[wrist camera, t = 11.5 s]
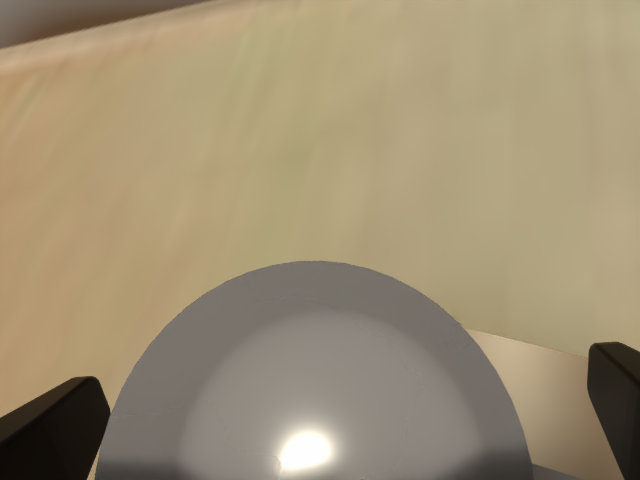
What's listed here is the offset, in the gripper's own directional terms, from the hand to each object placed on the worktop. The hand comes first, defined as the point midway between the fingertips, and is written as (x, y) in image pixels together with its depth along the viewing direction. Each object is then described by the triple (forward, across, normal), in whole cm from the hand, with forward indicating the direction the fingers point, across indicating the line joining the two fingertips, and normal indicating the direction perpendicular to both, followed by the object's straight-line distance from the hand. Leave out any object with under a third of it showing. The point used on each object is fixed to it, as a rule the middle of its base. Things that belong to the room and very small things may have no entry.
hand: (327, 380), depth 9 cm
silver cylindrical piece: (+4, 0, +6) cm, 8 cm away
